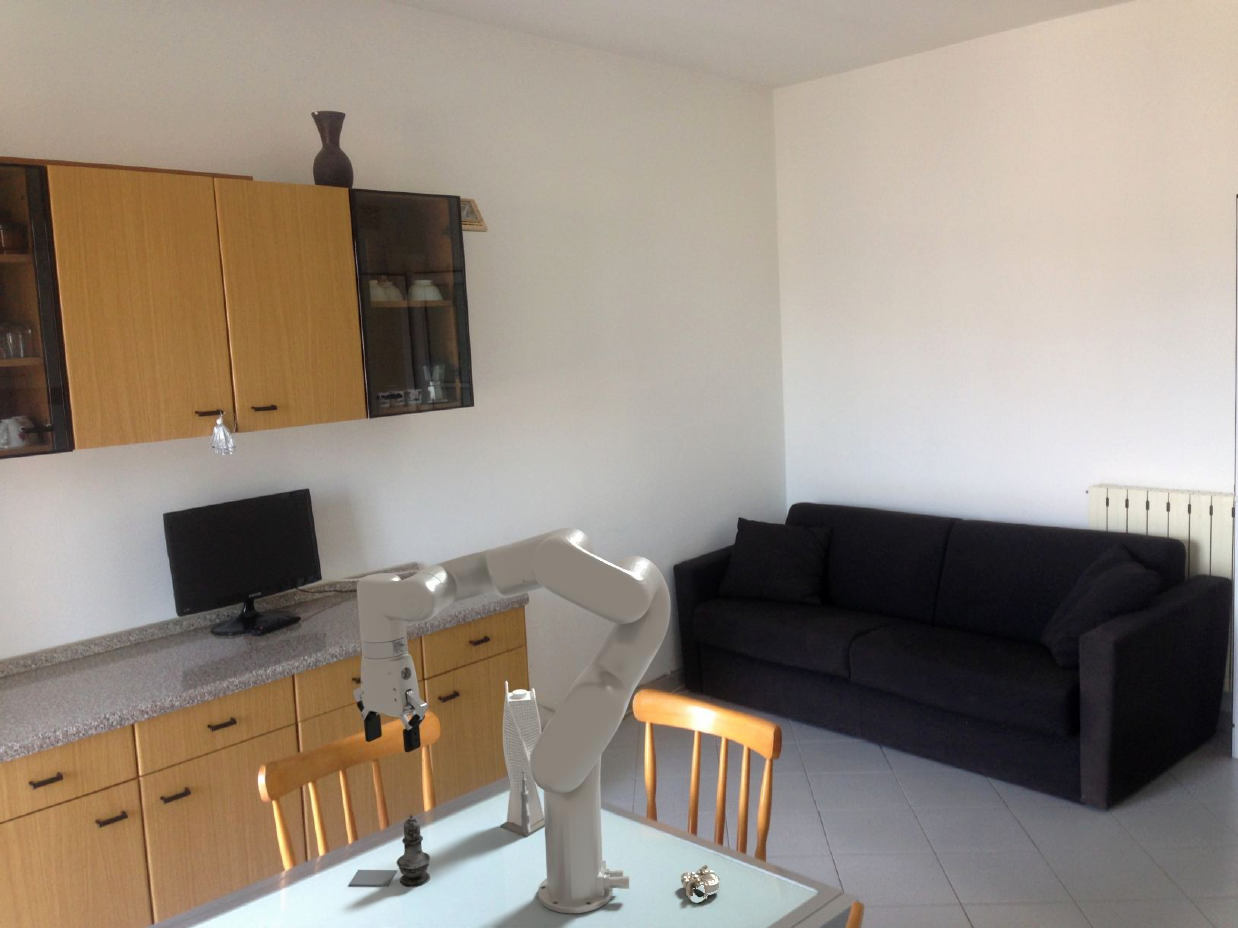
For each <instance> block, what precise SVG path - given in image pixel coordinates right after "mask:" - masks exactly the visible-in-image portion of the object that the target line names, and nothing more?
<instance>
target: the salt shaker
mask: <svg viewBox="0 0 1238 928" xmlns="http://www.w3.org/2000/svg"><path fill="white" fill-rule="evenodd" d="M423 840H424V837H423V836H422V835H421V823H420V821H419V820H418V819H417V818H416V817H415V818H414V815H413V813H412V814H409V818H408V819H406V820H405V821H404V823H403V838H402V839H401V841H402V844H403V846H404V847H403V848H404V850H403V851H404V852H403V854H402V855H400V857H398V858H397V860H396V865H397V867H398V869H399V871H400V873H401V874H402V876H401V877H400V878H399V884H400V886H401V885H402V886H403V887H406V888H417V887H419V886H424V885H425V884H427V883H428V882H429V881H430V879H431V875H430V873H428V872H427V870H428V869H429V866H430V862H431V855H430V854H428V853H426V852H424V851H423V848H422V847H423V845H422V841H423Z"/></svg>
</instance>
